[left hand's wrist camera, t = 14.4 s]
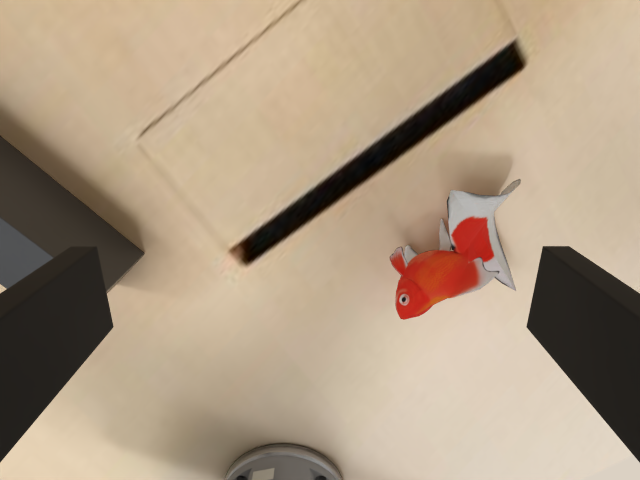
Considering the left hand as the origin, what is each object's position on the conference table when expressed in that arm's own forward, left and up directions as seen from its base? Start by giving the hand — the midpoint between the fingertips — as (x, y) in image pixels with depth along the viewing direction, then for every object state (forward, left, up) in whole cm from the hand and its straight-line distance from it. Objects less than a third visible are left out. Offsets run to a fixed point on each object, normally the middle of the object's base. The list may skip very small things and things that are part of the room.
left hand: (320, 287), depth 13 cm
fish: (-8, -12, -28) cm, 32 cm away
